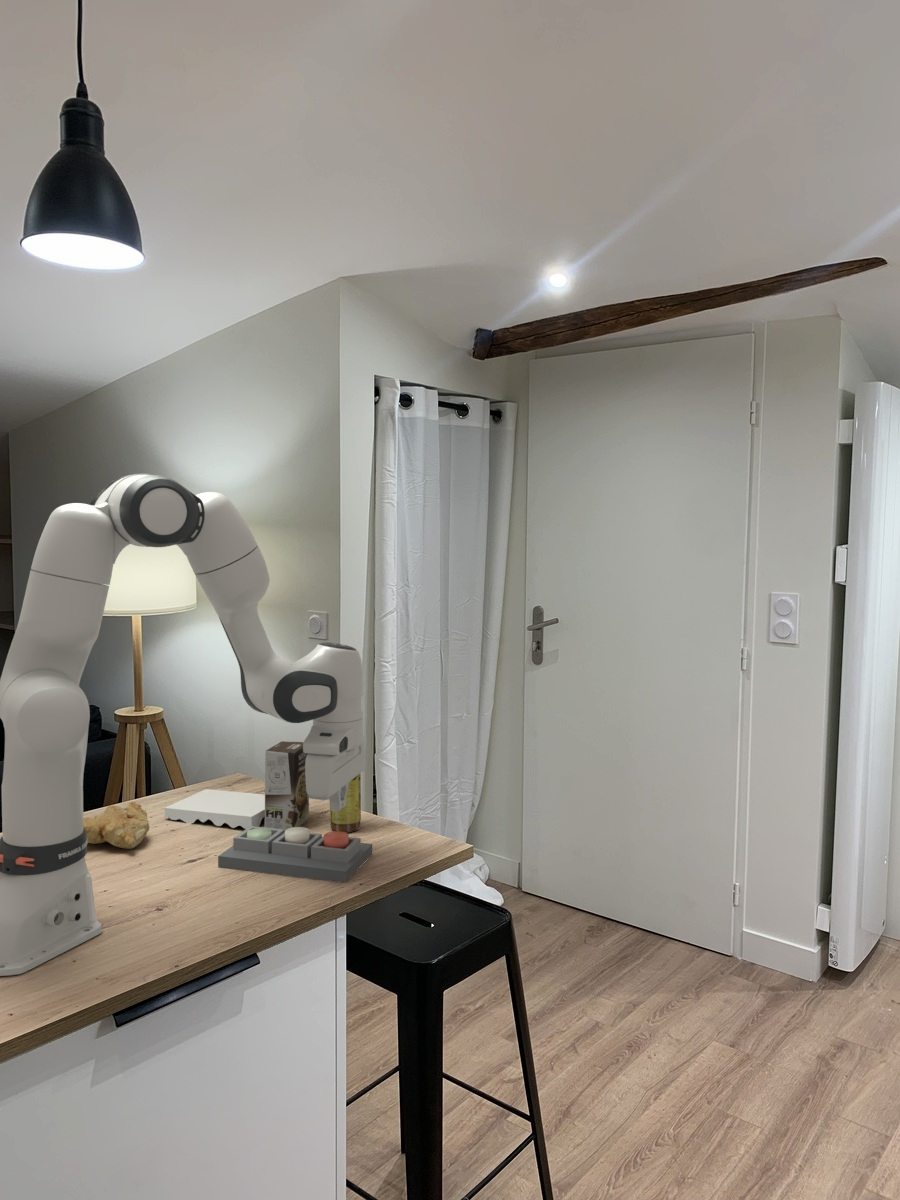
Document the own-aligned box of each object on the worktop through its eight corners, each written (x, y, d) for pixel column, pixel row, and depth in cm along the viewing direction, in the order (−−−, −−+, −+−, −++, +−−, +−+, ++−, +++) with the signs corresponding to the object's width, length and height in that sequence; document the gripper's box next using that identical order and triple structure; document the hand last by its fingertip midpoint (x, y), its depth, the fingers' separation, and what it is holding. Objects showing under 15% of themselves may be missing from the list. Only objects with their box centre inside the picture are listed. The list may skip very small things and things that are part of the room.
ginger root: (112, 858, 163) (105, 812, 163) (55, 861, 171) (49, 818, 171) (179, 836, 176) (173, 794, 177) (123, 840, 184) (117, 800, 185)
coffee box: (294, 832, 182) (294, 752, 180) (263, 830, 183) (263, 750, 181) (310, 818, 190) (310, 741, 189) (280, 815, 192) (281, 739, 190)
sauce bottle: (366, 830, 184) (367, 732, 182) (338, 836, 180) (339, 736, 179) (350, 821, 189) (352, 726, 187) (323, 826, 186) (324, 729, 184)
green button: (264, 849, 166) (264, 837, 166) (242, 846, 167) (242, 834, 167) (275, 841, 170) (275, 829, 170) (253, 838, 171) (253, 827, 171)
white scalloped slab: (164, 824, 187) (251, 833, 181) (164, 807, 187) (251, 816, 181) (206, 804, 202) (287, 812, 196) (205, 789, 202) (287, 796, 195)
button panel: (345, 882, 157) (345, 858, 157) (218, 866, 163) (218, 843, 163) (372, 854, 171) (372, 832, 170) (253, 840, 177) (253, 819, 176)
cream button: (303, 848, 164) (303, 836, 164) (280, 845, 165) (280, 833, 165) (313, 840, 168) (313, 828, 168) (290, 837, 169) (291, 826, 169)
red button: (343, 852, 162) (343, 840, 162) (319, 850, 163) (320, 838, 163) (351, 844, 166) (352, 832, 166) (329, 842, 167) (329, 830, 167)
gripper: (342, 719, 174) (342, 791, 175) (298, 745, 154) (298, 826, 155) (374, 721, 172) (373, 793, 174) (333, 748, 153) (333, 829, 154)
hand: (338, 809), depth 164 cm, fingers closed
